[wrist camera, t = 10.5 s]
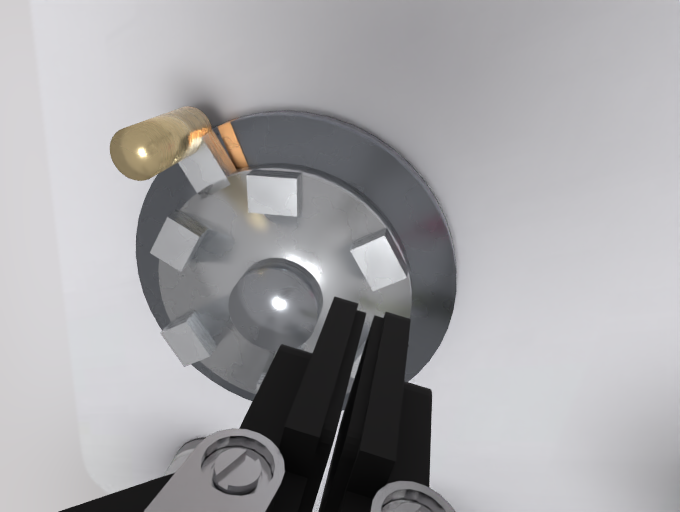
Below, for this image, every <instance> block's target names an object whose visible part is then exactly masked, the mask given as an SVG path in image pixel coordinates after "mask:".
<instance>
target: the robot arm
mask: <svg viewBox="0 0 680 512" xmlns="http://www.w3.org/2000/svg"><path fill="white" fill-rule="evenodd" d="M358 304H359V303H356V302H352V301H349V300H345V299H342V298H339V297H334V299H333V301H332V304H331V306H330V309H329V312H328V314H327V317H326V319H325V322H324V325H323V327H322V330H321V332H320V335H319V338H318V340H317V343H316V346H315V348H314V351H313V353H310V352H307V351H303V350H300V349H297V348H293V347H290V346H287V345H284V344H281V345H280V347H279V349H278V351H277V353H276V355H275V357H274V359H273V361H272V363H271V365H270V367H269V369H268V371H267V373H266V375H265V377H264V379H263V381H262V383H261V385H260V387H259V390H258V392H257V394H256V396H255V398H254V400H253V402H252V404H251V406H250V408H249V410H248V412H247V414H246V416H245V418H244V420H243V422H242V424H241V426H240V428H239V429H227V430H222V431H218V432H216V433H214V434H212V435H209V436H207V437H206V438H205V439H204V440H203V441H202V442H201V443H199V444H198V445H197V447H196V448H195V449H194V450H193V452H192V453H191V454H190V455H189V456H188V458H187V459H186V460H185V461H184V463H183V464H182V465H181V466H180V468H179V469H178V470H177V471H176V472H175V473H172V474H169V475H166V476H163V477H160V478H157V479H154V480H151V481H148V482H145V483H142V484H139V485H136V486H133V487H131V488H128V489H125V490H122V491H119V492H116V493H113V494H110V495H107V496H104V497H101V498H98V499H95V500H92V501H89V502H86V503H83V504H80V505H77V506H74V507H71V508H68V509H65V510H62V511H59V512H312V509H313V506H314V503H315V500H316V497H317V493H318V490H319V487H320V484H321V481H322V477H323V474H324V471H325V468H326V464H327V461H328V458H329V455H330V451H331V448H332V445H333V441H334V437H335V434H336V430H337V426H338V422H339V418H340V415H341V411H342V407H343V403H344V399H345V395H346V391H347V387H348V383H349V379H350V376H351V372H352V368H353V364H354V360H355V356H356V352H357V348H358V344H359V341H360V337H361V333H362V329H363V325H364V321H365V317H366V312H362V311H359V310H357V308H358ZM410 323H411V319H409V318H406V317H403V316H399V315H396V314H393V313H389V312H385V315H384V318H382V317H379V316H376V315H374V318H373V321H372V324H371V327H370V330H369V333H368V337H367V340H366V343H365V346H364V349H363V353H362V356H361V359H360V362H359V365H358V369H357V372H356V375H355V378H354V381H353V385H352V388H351V391H350V394H349V397H348V401H347V404H346V407H345V410H344V414H343V417H342V421H341V424H340V428H339V432H338V436H337V440H336V444H335V448H334V452H333V456H332V460H331V464H330V468H329V472H328V476H327V480H326V484H325V488H324V492H323V496H322V500H321V504H320V508H319V512H455V511H454V509H453V508H452V507H451V505H450V504H449V503H448V502H447V501H446V500H445V499H444V498H443V497H442V496H441V495H440V494H439V493H437V492H435V491H434V490H432V489H430V488H429V475H430V444H431V412H432V391H431V389H428V388H425V387H421V386H418V385H415V384H412V383H408V382H405V381H404V379H405V369H406V360H407V351H408V342H409V332H410Z"/></svg>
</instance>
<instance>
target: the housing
mask: <svg viewBox="0 0 680 512" xmlns="http://www.w3.org/2000/svg"><path fill="white" fill-rule="evenodd" d="M213 131H214V133H215V134H216V136H217V138H218V140H219V141H220V143H221V145H222V146H223V148H224V150H225V151H226V153H227V155H228V156H229V158H230V160H231V161H232V163H233V165H234V166H235V168H236V170H237V169H241V168H244V167H248V166H251V165H258V164H266V163H288V164H295V165H303V166H307V167H310V168H314V169H318V170H321V171H324V172H326V173H329V174H331V175H333V176H336V177H338V178H340V179H342V180H343V181H345V182H347V183H349V184H350V185H352V186H354V187H355V188H356V189H358V190H359V191H360V192H362V193H363V194H364V195H366V196H367V197H368V198H369V199H370V200H371V201H372V202H373V203H374V204H375V205H376V206H378V207H379V208H380V210H381V211H382V212H383V213H384V214H385V216H386V217H387V218H388V219H389V221H390V222H391V223H392V225H393V227H394V228H395V230H396V232H397V233H398V235H399V237H400V239H401V241H402V243H403V246H404V248H405V250H406V253H407V257H408V260H409V264H410V268H411V275H412V305H411V313H410V319H411V323H410V332H409V342H408V351H407V360H406V369H405V379H404V381H405V382H408V381H409V380H411V379H412V378H413V377H414V376H415V375H417V374H418V373H419V372H420V370H421V369H422V368H423V367H424V366H425V365H426V364H427V363H428V362H429V361H430V359H431V358H432V356H433V355H434V353H435V352H436V350H437V349H438V347H439V346H440V344H441V342H442V340H443V337H444V335H445V333H446V331H447V329H448V326H449V323H450V320H451V316H452V313H453V309H454V302H455V295H456V262H455V254H454V248H453V241H452V237H451V234H450V231H449V227H448V224H447V221H446V218H445V216H444V214H443V212H442V210H441V208H440V206H439V203H438V201H437V199H436V198H435V196H434V195H433V193H432V192H431V190H430V189H429V187H428V185H427V184H426V182H425V181H424V180H423V179H422V177H421V176H420V175H419V174H418V173H417V172H416V170H415V169H414V168H413V167H412V166H411V165H410V164H409V163H408V162H407V161H406V160H405V159H404V158H403V157H402V156H400V155H399V154H398V153H397V152H396V151H395V150H394V149H393V148H391V147H390V146H388V145H387V144H385V143H384V142H382V141H381V140H379V139H378V138H376V137H375V136H373V135H372V134H370V133H368V132H366V131H364V130H362V129H360V128H358V127H356V126H354V125H351V124H349V123H346V122H343V121H340V120H337V119H334V118H331V117H328V116H323V115H318V114H313V113H308V112H295V111H275V112H262V113H257V114H253V115H248V116H243V117H240V118H236V119H233V120H230V121H228V122H226V123H224V124H221V125H219V126H217V127H215V128H213ZM196 193H197V192H196V190H195V189H194V187H193V186H192V184H191V182H190V181H189V179H188V178H187V176H186V175H185V173H184V171H183V170H182V168H181V167H180V165H179V163H176V164H175V165H173V166H171V167H169V168H168V169H166V170H164V171H162V172H160V173H159V174H158V175H157V177H156V178H155V180H154V181H153V183H152V185H151V187H150V189H149V191H148V193H147V195H146V197H145V200H144V203H143V206H142V209H141V213H140V216H139V220H138V227H137V234H136V259H137V267H138V274H139V278H140V282H141V285H142V289H143V293H144V295H145V298H146V300H147V303H148V305H149V308H150V310H151V312H152V314H153V316H154V317H155V319H156V321H157V323H158V325H159V326H160V328H161V329H162V331H163V329H164V328H165V327H166V326H167V325H168V324H169V323H170V322H171V321H170V319H169V317H168V315H167V312H166V309H165V306H164V303H163V300H162V296H161V291H160V286H159V272H158V268H159V258H157V257H156V256H154V255H152V254H151V253H150V251H151V249H152V247H153V245H154V243H155V241H156V239H157V237H158V235H159V233H160V231H161V229H162V227H163V225H164V223H165V221H166V219H167V217H168V216H169V215H170V214H172V213H173V212H175V211H176V210H180V209H181V208H182V207H183V206H184V204H185V203H186V202H187V201H188V200H190V199H191V198H192V197H193V196H194V195H195V194H196ZM192 365H193V366H194V367H195V368H196V369H197V370H199V371H200V372H201V373H203V374H204V375H205V376H206V377H208V378H209V379H210V380H212V381H213V382H215V383H217V384H218V385H220V386H222V387H223V388H225V389H227V390H228V391H230V392H233V393H235V394H237V395H239V396H241V397H243V398H245V399H248V400H251V401H253V400H254V398H255V396H256V394H253V393H251V392H248V391H246V390H243V389H241V388H239V387H237V386H235V385H233V384H231V383H229V382H227V381H226V380H224V379H223V378H221V377H220V376H218V375H217V374H215V373H214V372H212V371H211V370H210V369H209V368H207V367H206V366H205V365H204V364H203V363H201V362H200V361H198V362H195V363H193V364H192ZM349 394H350V393H347V394H346V395H345V399H344V403H343V407H342V410H345V407H346V404H347V401H348V397H349Z"/></svg>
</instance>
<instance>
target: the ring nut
mask: <svg viewBox="0 0 680 512" xmlns="http://www.w3.org/2000/svg"><path fill="white" fill-rule="evenodd" d="M110 154H111V158H112V161H113V163H114V165H115V166H116V168H117V169H118V170H119V171H120V172H121V173H122V174H123V175H125V176H126V177H128V178H130V179H133V180H138V181H143V180H147V179H150V178H152V177H153V176H155V175H157V174H159V173H160V172H162V171H164V170H166V169H168V168H169V167H171V166H173V165H175V164H176V163H179V165H180V167H181V168H182V170H183V171H184V173H185V175H186V176H187V178H188V179H189V181H190V182H191V184H192V186H193V187H194V189H195V190H196V192H197V193H196V194H195V195H194V196H193V197H192V198H191V199H190V200H188V201H187V202H186V203H185V204H184V206H183V207H182V208H181V209H180V210H176V211H175V212H173V213H172V214H170V215H169V216H168V217H167V219H166V221H165V223H164V225H163V227H162V229H161V231H160V233H159V235H158V237H157V239H156V241H155V243H154V245H153V247H152V249H151V251H150V253H151V254H152V255H154V256H156V257H157V258H159V268H158V272H159V286H160V291H161V296H162V300H163V303H164V306H165V309H166V312H167V315H168V317H169V319H170V321H171V322H170V323H169V324H168V325H167V326H166V327H165V328H164V329H163V331H162V332H161V335H162V336H163V338H164V339H165V340H166V342H167V343H168V345H169V346H170V347H171V349H172V350H173V352H174V353H175V354H176V356H177V357H178V359H179V360H180V361H181V363H182V364H183V366H184V367H185V366H188V365H190V364H193V363H195V362H198V361H200V362H201V363H203V364H204V365H205V366H206V367H207V368H209V369H210V370H211V371H212V372H214V373H215V374H217V375H218V376H220V377H221V378H223V379H224V380H226V381H227V382H229V383H231V384H233V385H235V386H237V387H239V388H241V389H243V390H246V391H248V392H251V393H253V394H257V392H258V390H259V387H260V385H261V383H262V381H263V379H264V377H265V375H266V373H267V371H268V369H269V367H270V365H271V363H272V361H273V359H274V357H275V355H276V353H277V351H278V349H279V347H280V345H281V344H284V345H287V346H290V347H293V348H297V349H300V350H303V351H307V352H310V353H313V351H314V348H315V346H316V343H317V340H318V338H319V335H320V332H321V330H322V327H323V325H324V322H325V319H326V317H327V314H328V312H329V309H330V306H331V304H332V301H333V299H334V297H339V298H342V299H345V300H349V301H352V302H356V303H359V304H358V308H357V310H359V311H362V312H366V317H365V321H364V325H363V329H362V333H361V337H360V341H359V344H358V348H357V352H356V356H355V360H354V364H353V368H352V372H351V376H350V379H349V383H348V387H347V391H346V394H347V393H350V391H351V388H352V385H353V381H354V378H355V375H356V372H357V369H358V365H359V362H360V359H361V356H362V353H363V349H364V346H365V343H366V340H367V337H368V333H369V330H370V327H371V324H372V321H373V318H374V315H376V316H379V317H382V318H384V315H385V312H389V313H393V314H396V315H399V316H403V317H406V318H409V319H410V313H411V305H412V275H411V268H410V264H409V260H408V257H407V253H406V250H405V248H404V246H403V243H402V241H401V239H400V237H399V235H398V233H397V232H396V230H395V228H394V227H393V225H392V223H391V222H390V221H389V219H388V218H387V217H386V216H385V214H384V213H383V212H382V211H381V210H380V208H379V207H378V206H376V205H375V204H374V203H373V202H372V201H371V200H370V199H369V198H368V197H367V196H366V195H364V194H363V193H362V192H360V191H359V190H358V189H356V188H355V187H354V186H352V185H350V184H349V183H347V182H345V181H343V180H342V179H340V178H338V177H336V176H333V175H331V174H329V173H326V172H324V171H321V170H318V169H314V168H310V167H307V166H303V165H295V164H288V163H266V164H258V165H251V166H248V167H244V168H241V169H237V170H236V168H235V166H234V165H233V163H232V161H231V160H230V158H229V156H228V155H227V153H226V151H225V150H224V148H223V146H222V145H221V143H220V141H219V140H218V138H217V136H216V134H215V133H214V131H213V129H212V127H211V124H210V121H209V119H208V118H207V116H206V115H205V114H204V113H203V112H202V111H200V110H199V109H197V108H194V107H182V108H179V109H176V110H174V111H171V112H168V113H165V114H162V115H160V116H157V117H154V118H151V119H148V120H146V121H143V122H140V123H137V124H134V125H132V126H129V127H126V128H123V129H121V130H119V131H118V132H116V133H115V135H114V136H113V138H112V140H111V143H110Z"/></svg>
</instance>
